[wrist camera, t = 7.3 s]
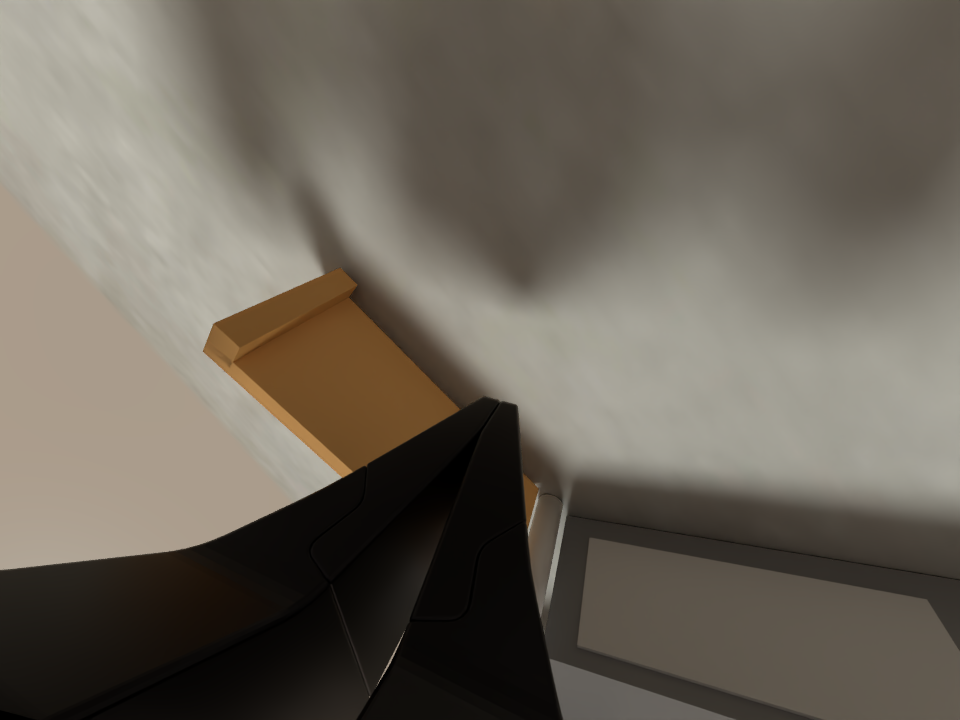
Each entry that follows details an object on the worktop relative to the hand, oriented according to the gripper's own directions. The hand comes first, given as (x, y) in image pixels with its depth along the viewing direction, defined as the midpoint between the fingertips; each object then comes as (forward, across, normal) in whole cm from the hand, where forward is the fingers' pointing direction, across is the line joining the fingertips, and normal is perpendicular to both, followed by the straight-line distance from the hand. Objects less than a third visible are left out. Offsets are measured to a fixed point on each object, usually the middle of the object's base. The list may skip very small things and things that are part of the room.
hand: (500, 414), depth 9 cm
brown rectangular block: (+3, +3, +2) cm, 5 cm away
